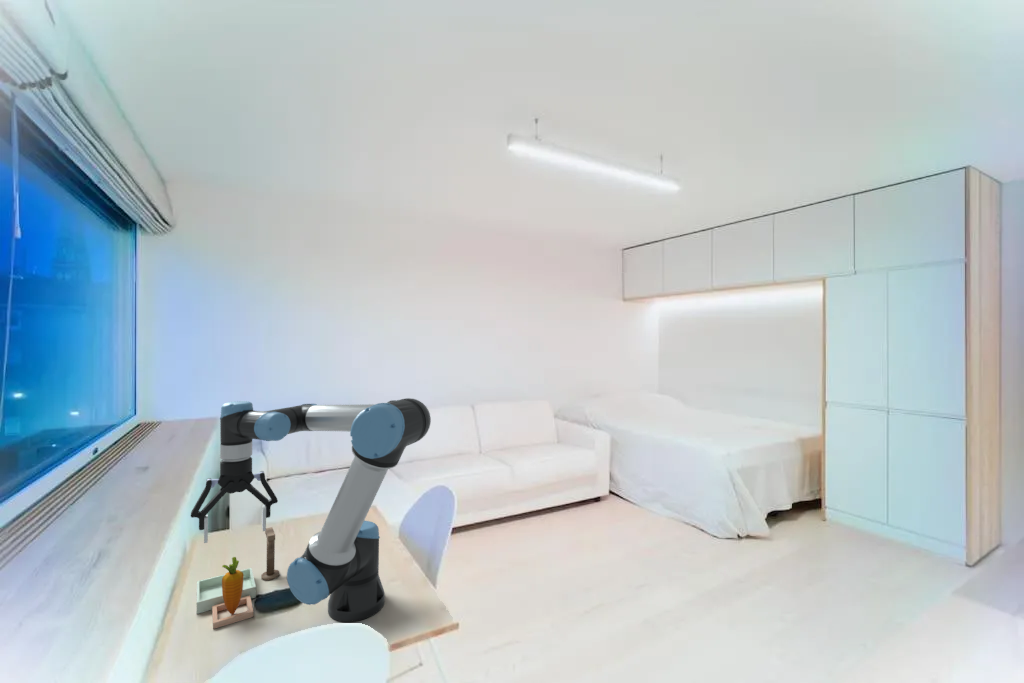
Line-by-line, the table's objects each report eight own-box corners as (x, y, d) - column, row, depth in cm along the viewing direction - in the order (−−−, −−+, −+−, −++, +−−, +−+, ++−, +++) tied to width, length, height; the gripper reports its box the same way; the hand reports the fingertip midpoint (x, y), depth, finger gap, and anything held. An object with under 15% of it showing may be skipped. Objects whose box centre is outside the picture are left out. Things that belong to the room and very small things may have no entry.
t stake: (280, 577, 140) (280, 534, 140) (262, 582, 137) (262, 538, 137) (277, 567, 146) (277, 526, 146) (259, 571, 143) (260, 529, 143)
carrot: (233, 620, 118) (233, 564, 118) (217, 618, 119) (217, 562, 119) (247, 609, 123) (247, 555, 123) (231, 607, 124) (232, 554, 124)
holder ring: (253, 616, 120) (253, 611, 120) (213, 628, 115) (213, 623, 115) (250, 600, 127) (250, 595, 127) (212, 611, 122) (212, 605, 122)
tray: (255, 597, 129) (255, 586, 129) (196, 614, 121) (196, 602, 121) (251, 577, 140) (251, 567, 140) (196, 591, 132) (196, 581, 132)
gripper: (285, 449, 133) (284, 520, 133) (181, 461, 119) (180, 540, 119) (288, 454, 126) (287, 529, 126) (179, 468, 112) (178, 551, 113)
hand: (235, 535), depth 123 cm, fingers open, 13 cm apart
